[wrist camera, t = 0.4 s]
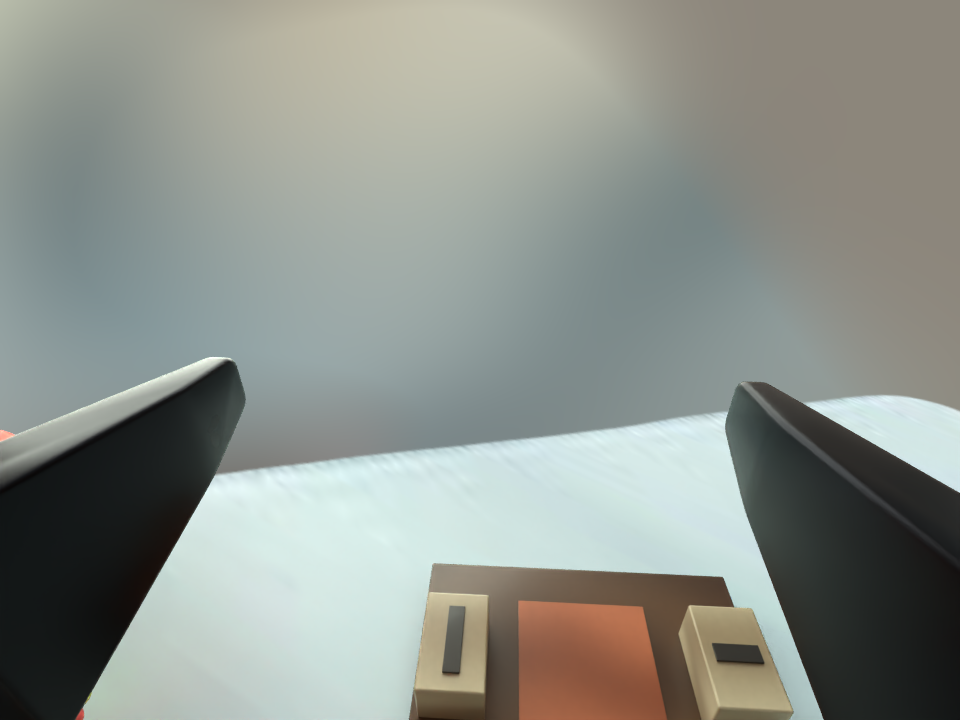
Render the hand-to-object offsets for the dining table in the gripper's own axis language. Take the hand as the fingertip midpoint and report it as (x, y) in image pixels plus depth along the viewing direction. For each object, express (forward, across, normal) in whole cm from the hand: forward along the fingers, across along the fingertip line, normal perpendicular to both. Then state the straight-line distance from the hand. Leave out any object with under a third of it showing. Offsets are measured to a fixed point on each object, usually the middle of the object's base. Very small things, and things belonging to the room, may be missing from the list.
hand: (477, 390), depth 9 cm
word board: (+3, -4, +16) cm, 17 cm away
